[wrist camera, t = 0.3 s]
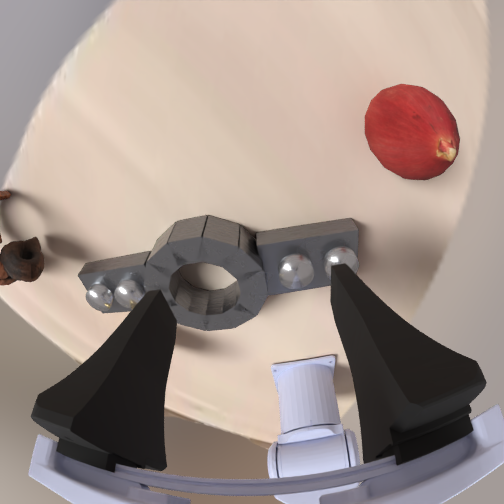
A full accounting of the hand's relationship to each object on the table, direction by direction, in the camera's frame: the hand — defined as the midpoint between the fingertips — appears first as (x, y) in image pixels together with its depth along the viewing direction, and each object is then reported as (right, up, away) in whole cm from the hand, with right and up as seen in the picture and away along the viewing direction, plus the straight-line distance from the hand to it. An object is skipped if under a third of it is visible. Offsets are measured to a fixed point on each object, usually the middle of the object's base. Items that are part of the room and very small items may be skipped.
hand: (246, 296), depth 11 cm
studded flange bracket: (-3, +1, +12) cm, 12 cm away
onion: (+10, +11, +5) cm, 15 cm away
